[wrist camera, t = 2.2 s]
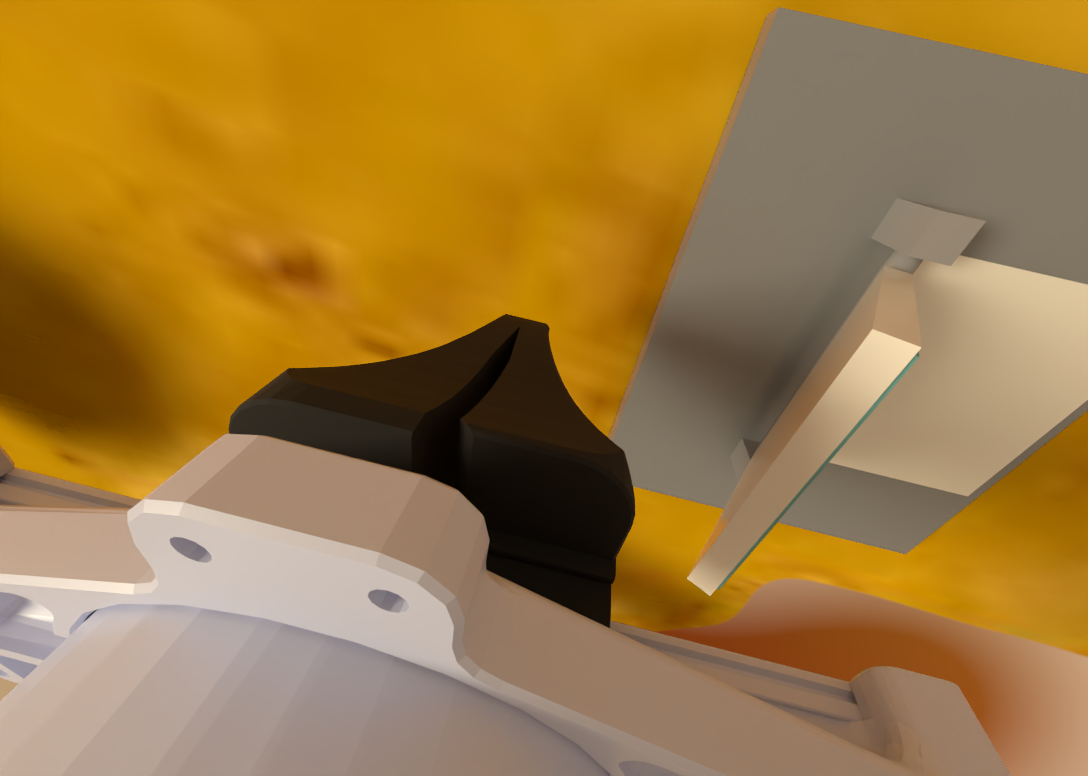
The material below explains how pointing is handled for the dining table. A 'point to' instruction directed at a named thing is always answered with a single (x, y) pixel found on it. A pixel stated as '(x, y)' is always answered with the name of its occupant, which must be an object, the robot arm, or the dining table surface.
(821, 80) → the grey flat piece
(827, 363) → the tile
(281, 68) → the dining table surface
